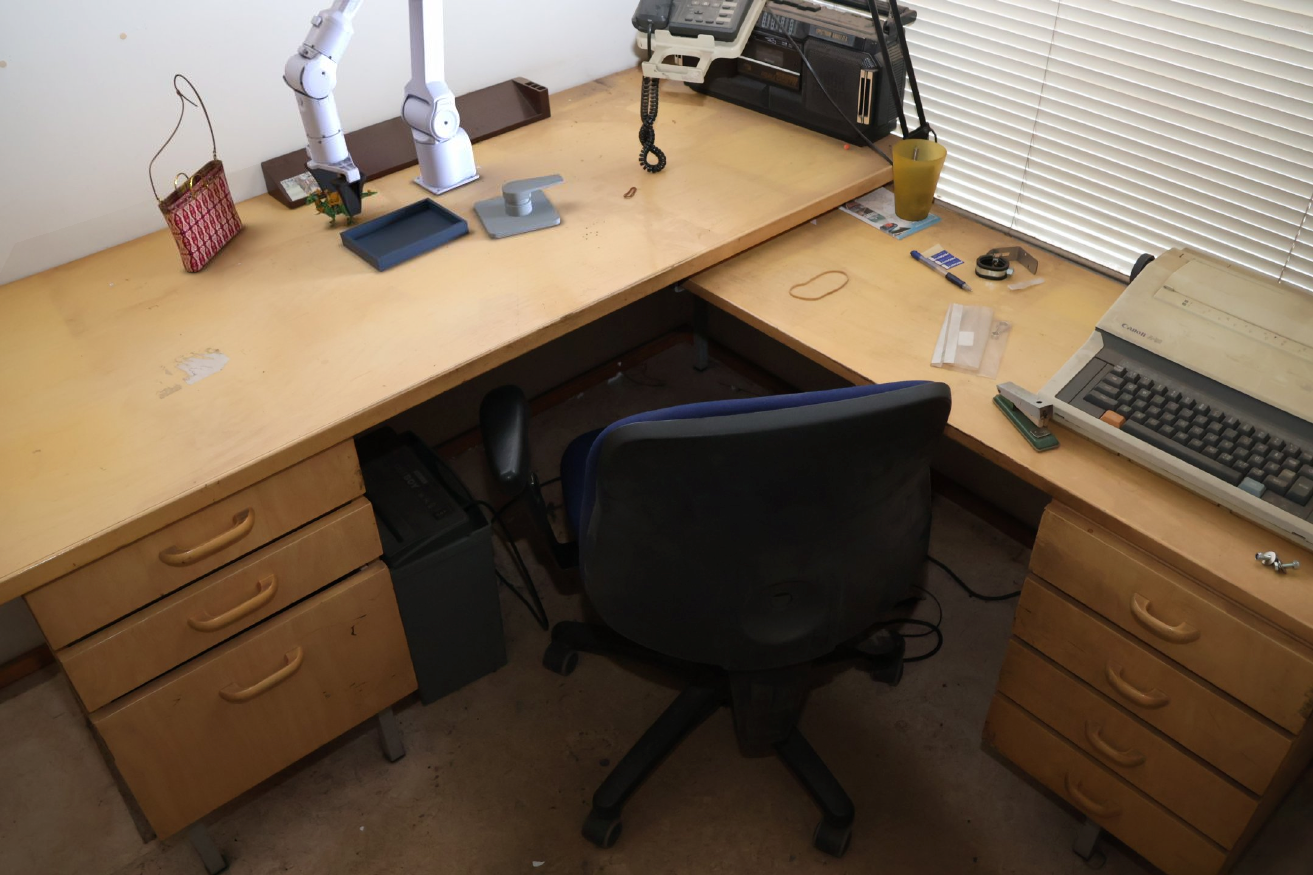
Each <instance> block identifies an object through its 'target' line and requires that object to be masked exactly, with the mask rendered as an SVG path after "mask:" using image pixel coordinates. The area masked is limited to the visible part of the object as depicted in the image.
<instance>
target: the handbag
mask: <svg viewBox="0 0 1313 875" xmlns="http://www.w3.org/2000/svg"><path fill="white" fill-rule="evenodd" d="M177 77H180V78H182V79H183V80H185V82H186V83H187V84H188V85H189V86H190V87H191V89H192V90H193V92H194V94H195V95H196V97H197V100H198V101H199V103H200V105H201V107H202V110H203V113H204V115H205V118H206V120H207V123H208V127H209V131H210V134H211V138H212V145H213V151H212V158H213V159H212V160H210V161H208V162H206V163H205V164H204V165H203V166H201V168H199V169H198V170H197V171H196V172H194V173H193V174H192V175H191V176H190V177H189V176H188V175H187V174H186V173H184V172H179V173H177V175H176V176H175V178H174V190H173V191H172V192H171V193H169V194H168V195H167V196H166V197H164V198H163V200H162V199H160V198H159V196H158V194H157V192H156V189H155V185H154V182H153V178H152V172H151V171H152V170H151V168H152V165H153V163H154V161H155V160H156V159H157V158H158V156H159V155H160V154H161V152H162V151H163V150H165V148H166V146H167V145H168V144H169V143H170V141H171V140H172V139H173V137H174V135H175V134H176V133H177V131H178V129H179V127H180V124H181V122H182V119H183V116H184V111H185V101H184V100H186V101H187V102H188V103H190V104H191V105H193V106H194V107H196V108H197V107H199V105H197V103H194V102H193V101H191V100H190V99H189V98H187V97H186V96H185V95H184V94H183V93H182V92H181V91H180V89H178V87H177V84H176V81H177ZM173 87H174V88H175V92H176V94H177V96H179V98H180V100H181V104H182V105H181V106H182V108H181V114H180V118H179V120H178V123H177V126H176V127H175V129H174V131H173V132H172V134H171V135H170V136H169V138H168V139H167V140H166V142H165V143H164V144H163V146H161V148H160V149H159V150H158V152H157V153H156V154H155V155H154V157H153V158H152V160H150V162H149V167H148V174H149V181H150V183H151V188H152V191H153V194H154V196H155V199H156V201H157V202H158V204H157V207H158V209H159V211H160V212H161V214H162V216H163V218H164V220H165V222H166V224H167V226H168V228H169V230H170V232H171V234H172V237H173V239H174V240H175V244H176V246H177V249H178V252H179V256H180V258H181V261H182V265H183V268H184V270H185V271H186V272H187V273H189V272H190V273H197V272H199V271H201V269H202V268H204V266H205V265H207V263H208V262H209V261H210V260H211V259H212V258H213V257H214V256H215V255H216V254H217V253H218V252H219V251H220V250H221V249H222V248H223V247H224V246H225V245H226V244H227V243H228V242H229V241H230V240H232V238H234V237H235V236H236V235H237V234H238V233H239V232H240V231H241V230H242V229H243V222H242V219H241V217H240V215H239V213H238V210H237V209H236V205H235V203H234V200H233V197H232V194H231V190H230V187H229V183H228V179H227V176H226V172H225V167H224V164H223V160H221V159H218V158H217V147H216V140H215V135H214V132H213V127H212V124H211V121H210V118H209V115H208V112H207V109H206V106H205V104H204V102H203V99H202V98H201V96H200V94H199V93H198V91H197V90H196V88H195V87H194V85H193V84H192V83H191V82H190V81H189V79H188V78H186V77H185V76H184V75H182V74H180V73H177V74H175V75H174V77H173ZM180 175H183V176H184V177H185V178H186V180H185V181H184V182H183V183H182V184H181V185H179V186H178V187H177V179H178V178H179V176H180Z"/></svg>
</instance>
